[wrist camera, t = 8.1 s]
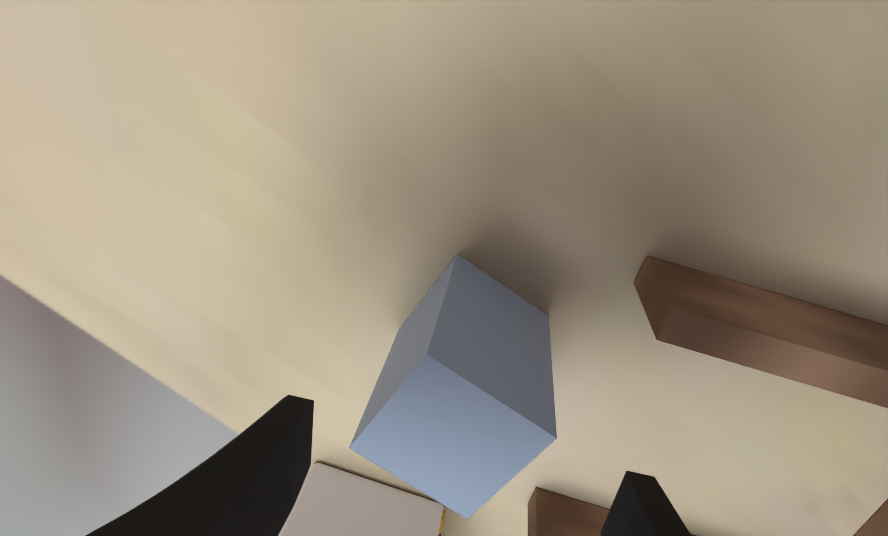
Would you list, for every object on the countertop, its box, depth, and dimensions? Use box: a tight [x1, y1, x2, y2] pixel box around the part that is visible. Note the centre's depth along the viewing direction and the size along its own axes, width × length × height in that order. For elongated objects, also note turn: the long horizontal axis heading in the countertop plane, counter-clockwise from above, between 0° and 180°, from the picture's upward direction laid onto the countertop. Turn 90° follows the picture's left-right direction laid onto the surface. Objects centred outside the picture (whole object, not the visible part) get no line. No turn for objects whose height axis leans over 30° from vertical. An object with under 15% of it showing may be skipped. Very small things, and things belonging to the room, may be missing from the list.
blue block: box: [349, 254, 557, 519], centre depth 19 cm, size 4×4×7 cm
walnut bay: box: [528, 256, 888, 536], centre depth 21 cm, size 15×14×4 cm
